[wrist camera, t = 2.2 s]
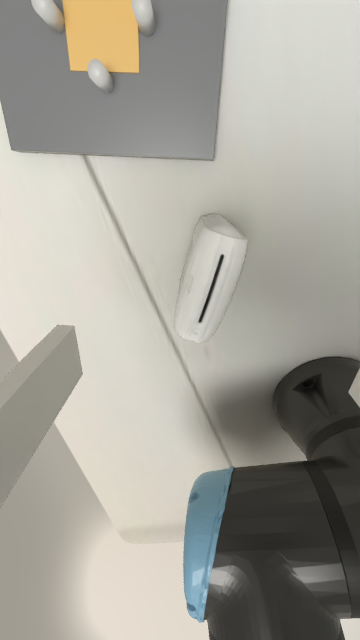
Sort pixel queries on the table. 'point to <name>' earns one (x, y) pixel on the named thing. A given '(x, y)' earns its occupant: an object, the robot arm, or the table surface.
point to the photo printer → (209, 277)
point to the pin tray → (112, 76)
